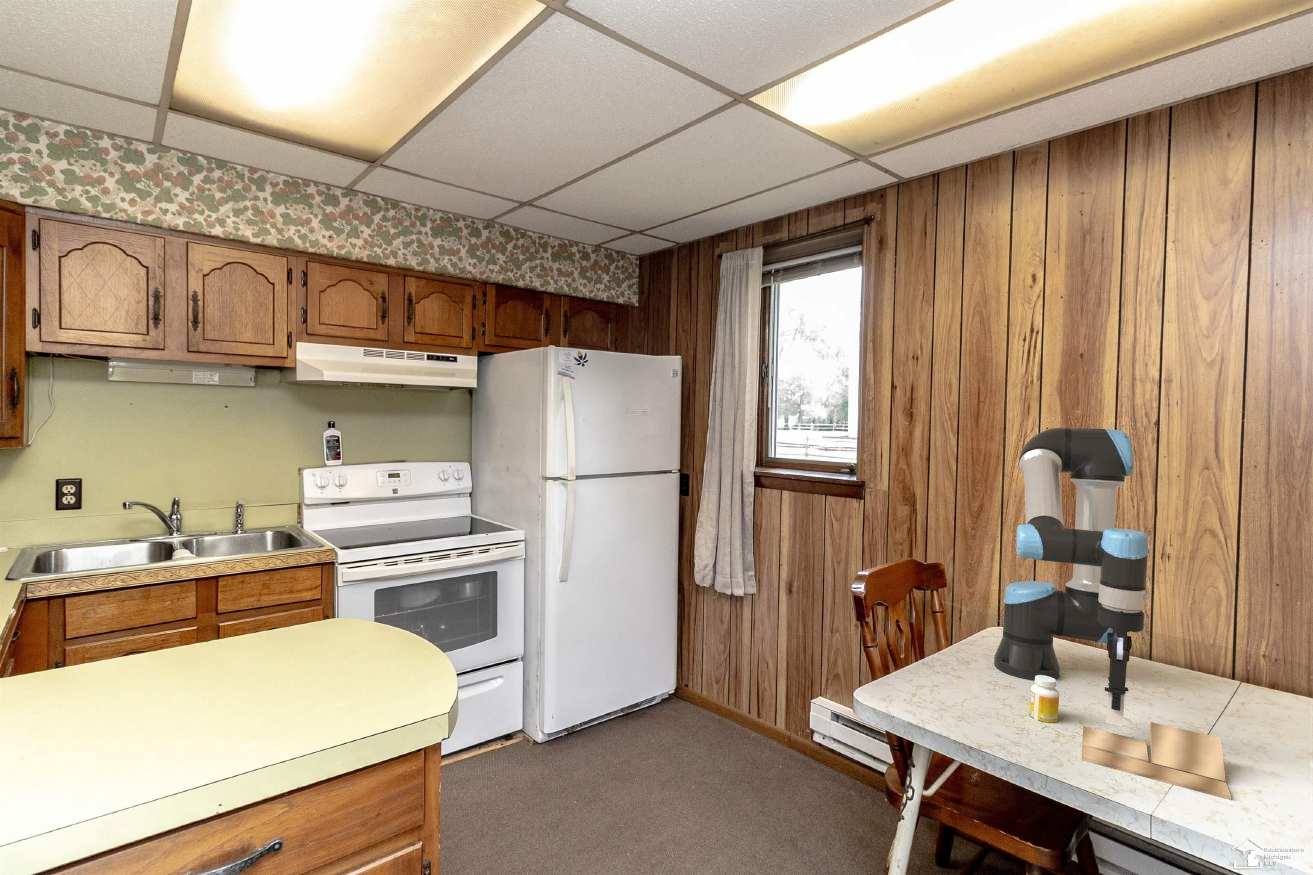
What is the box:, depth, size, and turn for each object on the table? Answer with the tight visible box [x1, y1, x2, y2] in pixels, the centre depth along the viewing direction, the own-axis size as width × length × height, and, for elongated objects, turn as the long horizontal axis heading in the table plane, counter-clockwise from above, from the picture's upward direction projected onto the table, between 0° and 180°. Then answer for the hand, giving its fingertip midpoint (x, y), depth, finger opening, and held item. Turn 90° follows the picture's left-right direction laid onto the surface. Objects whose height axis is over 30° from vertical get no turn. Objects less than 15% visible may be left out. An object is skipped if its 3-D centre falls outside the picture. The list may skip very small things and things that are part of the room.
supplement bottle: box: [1028, 675, 1060, 724], centre depth 143 cm, size 5×5×10 cm
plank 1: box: [1081, 725, 1150, 763], centre depth 130 cm, size 10×9×1 cm
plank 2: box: [1149, 721, 1227, 783], centre depth 123 cm, size 10×9×1 cm
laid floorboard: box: [1081, 745, 1232, 801], centre depth 121 cm, size 22×5×1 cm, turn 56°
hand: (1114, 723), depth 132 cm, fingers closed
